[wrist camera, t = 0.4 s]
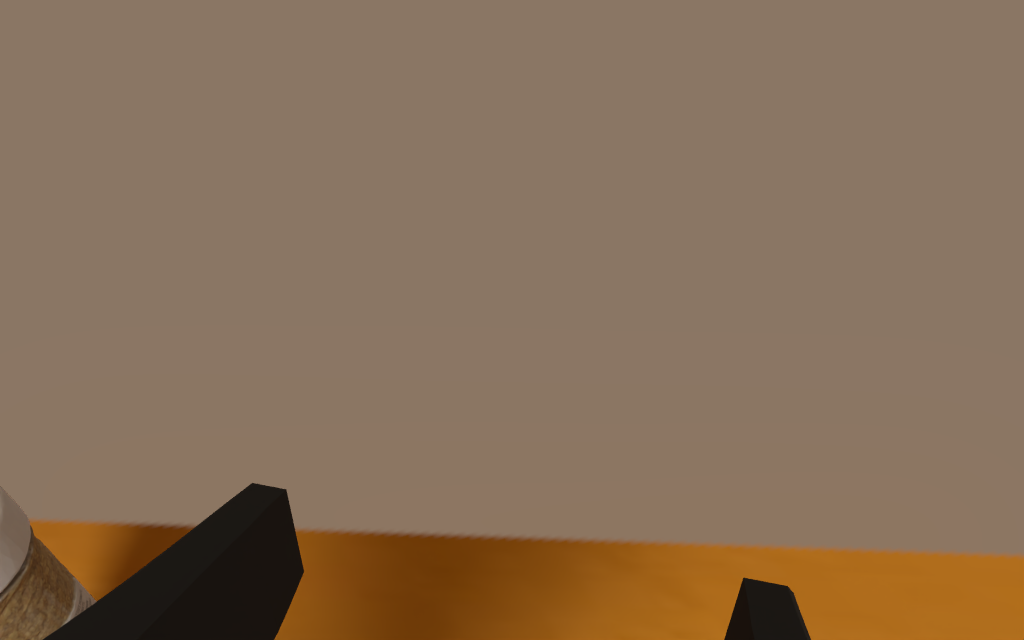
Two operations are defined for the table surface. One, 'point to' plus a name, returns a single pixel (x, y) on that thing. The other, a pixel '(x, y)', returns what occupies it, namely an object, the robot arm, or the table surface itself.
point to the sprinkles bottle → (32, 581)
